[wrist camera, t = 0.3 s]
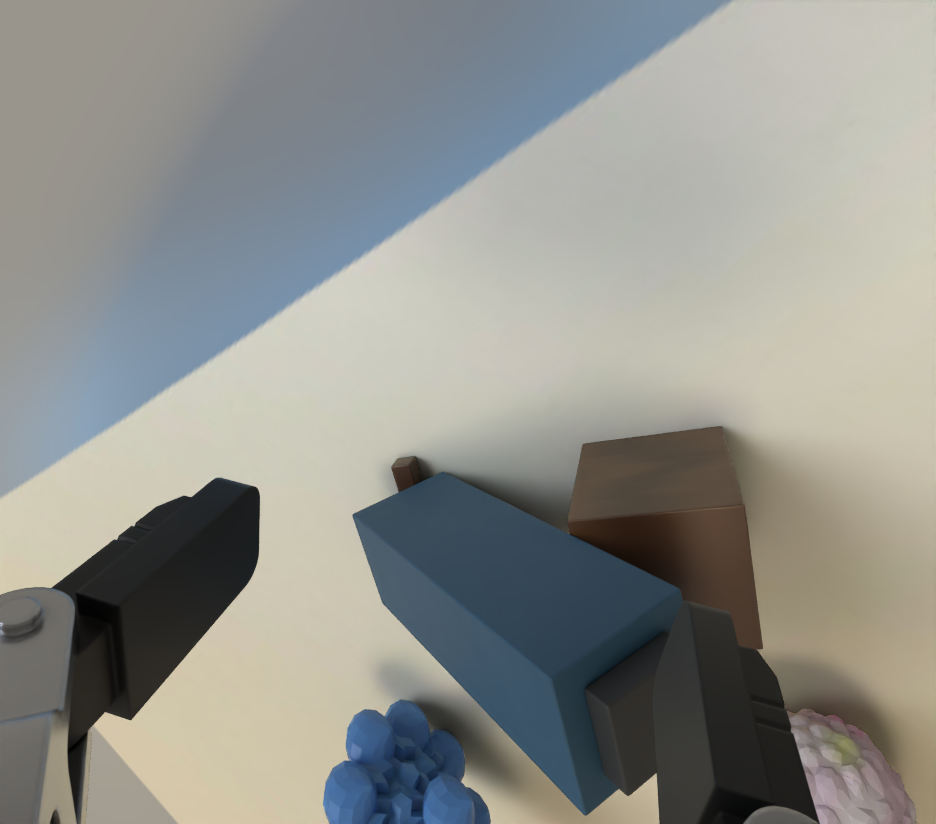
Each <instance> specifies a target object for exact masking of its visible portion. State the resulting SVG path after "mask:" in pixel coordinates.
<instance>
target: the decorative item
mask: <svg viewBox="0 0 936 824" xmlns="http://www.w3.org/2000/svg"><path fill="white" fill-rule="evenodd" d="M785 710H787V709H785ZM787 713H788V717H789V720H790V724H791V733H793V734H794V737H795V741H796V744H797V748H798V751H799V754H800V758H801V761H802V765H803V768H804V771H805V775H806V778H807V782H808V785H809V789H810V792H811V795H812V799H813V802H814V806H815V809H816V812H817V816H818V819H819V822H820V824H917V822H916V807H915V804H914V802H913V801H912V799H911V798H910V797H909V796H908V795H907V793H906V792H905V789H904V784H903V782H902V780H901V778H900V776H899V774H898V773H897V772H896V771H894V770H893V769H892V768H891V767H890V766H889V765H888V764H887V762H886V760H885V758H884V756H883V755H882V753H881V752H880V750H879V749H878V748H877V747H876V746H875V745H874V744H873V743H872V741H871V739H870V738H869V736H868V735H867V734H866V733H865V732H864V731H862V730H859V729H858V728H857V727H855V726H854V725H850V724H844V722H843V720H841V719H840V718H839V717H837V716H836V715H827V716H823V715H821V714H818V713H815V712H814V711H813V710H812V709H801V710H799V711H798V712H797V713H792V712H790V711H788V710H787Z"/></svg>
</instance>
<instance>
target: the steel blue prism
mask: <svg viewBox="0 0 936 824" xmlns="http://www.w3.org/2000/svg"><path fill="white" fill-rule="evenodd" d="M353 519H354V522H355V525H356V528H357V530H358V533H359V536H360V539H361V542H362V545H363V548H364V551H365V554H366V557H367V560H368V562H369V565H370V568H371V571H372V574H373V577H374V580H375V583H376V586H377V589H378V592H379V594H380V597H381V600H382V603H383V604H384V605H385V606H386V607H387V608H388V609H389V610H390V612H391V613H392V614H393V615H394V616H395V617H396V618H397V619H398V620H399V621H400V622H401V623H402V624H403V625H404V626H405V627H406V628H407V629H408V630H409V631H410V633H411V634H412V635H413V636H414V637H415V638H416V639H417V640H418V641H419V642H420V643H421V644H422V645H423V646H424V647H425V648H426V649H427V650H428V651H429V653H430V654H431V655H432V656H433V657H434V658H435V659H436V660H437V661H438V662H439V663H440V664H441V665H442V666H443V667H444V668H445V669H446V670H447V671H448V672H449V674H450V675H451V676H452V677H453V678H454V679H455V680H456V681H457V682H458V683H459V684H460V685H461V686H462V687H463V688H464V689H465V690H466V691H467V692H468V694H469V695H470V696H471V697H472V698H473V699H474V700H475V701H476V702H477V703H478V704H479V705H480V706H481V707H482V708H483V709H484V710H485V711H486V712H487V713H488V715H489V716H490V717H491V718H492V719H493V720H494V721H495V722H496V723H497V724H498V725H499V726H500V727H501V728H502V729H503V730H504V731H505V732H506V733H507V734H508V736H509V737H510V738H511V739H512V740H513V741H514V742H515V743H516V744H517V745H518V746H519V747H520V748H521V749H522V750H523V751H524V752H525V753H526V754H527V756H528V757H529V758H530V759H531V760H532V761H533V762H534V763H535V764H536V765H537V766H538V767H539V768H540V769H541V770H542V771H543V772H544V773H545V774H546V775H547V777H548V778H549V779H550V780H551V781H552V782H553V783H554V784H555V785H556V786H557V787H558V788H559V789H560V790H561V791H562V792H563V793H564V794H565V795H566V797H567V798H568V799H569V800H570V801H571V802H572V803H573V804H574V805H575V806H576V807H577V808H578V809H579V810H580V811H581V812H582V813H583V814H584V815H585V816H586V815H588V814H589V813H590V812H591V811H593V810H594V809H595V808H596V807H597V806H599V805H600V804H601V803H602V802H603V801H605V800H606V799H607V798H608V797H609V796H611V795H612V794H613V793H614V792H615V791H617V790H618V789H620V790H621V791H622V792H623V793H625V794H626V795H627V796H629V795H631V794H632V793H633V792H634V791H636V790H637V789H638V788H639V787H640V786H641V785H643V784H644V783H645V782H646V781H647V780H649V779H650V778H651V777H652V776H653V775H654V774H656V773H657V767H656V750H655V732H654V714H653V689H654V681H655V676H656V671H657V668H658V664H659V661H660V659H661V656H662V653H663V651H664V648H665V645H666V642H667V640H668V637H669V634H670V632H671V629H672V626H673V623H674V621H675V618H676V615H677V613H678V610H679V607H680V605H681V604H682V602H683V601H682V595H681V590H680V589H679V588H678V587H676V586H674V585H672V584H670V583H668V582H665V581H663V580H661V579H659V578H657V577H655V576H653V575H651V574H649V573H647V572H645V571H643V570H641V569H639V568H637V567H635V566H633V565H631V564H629V563H627V562H625V561H623V560H621V559H619V558H617V557H615V556H613V555H611V554H609V553H607V552H605V551H603V550H601V549H599V548H597V547H595V546H593V545H591V544H589V543H587V542H585V541H583V540H581V539H579V538H577V537H575V536H573V535H570V534H568V533H566V532H564V531H562V530H560V529H558V528H556V527H554V526H552V525H550V524H548V523H546V522H544V521H542V520H540V519H538V518H536V517H534V516H532V515H530V514H528V513H526V512H524V511H522V510H520V509H518V508H516V507H514V506H512V505H510V504H508V503H506V502H504V501H502V500H500V499H498V498H496V497H494V496H492V495H490V494H488V493H486V492H484V491H482V490H480V489H478V488H475V487H473V486H471V485H469V484H467V483H465V482H463V481H461V480H459V479H457V478H455V477H453V476H451V475H449V474H447V473H445V472H441V473H439V474H437V475H435V476H433V477H430V478H428V479H426V480H424V481H422V482H420V483H418V484H416V485H414V486H411V487H409V488H407V489H405V490H403V491H401V492H399V493H397V494H395V495H392V496H390V497H388V498H386V499H384V500H382V501H380V502H378V503H376V504H373V505H371V506H369V507H367V508H365V509H363V510H361V511H359V512H357V513H354V514H353Z"/></svg>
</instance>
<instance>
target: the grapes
mask: <svg viewBox="0 0 936 824" xmlns="http://www.w3.org/2000/svg"><path fill="white" fill-rule="evenodd" d="M346 750H347V755H348V758H349V760H350V761H343V762H342V763H340V764H339V765H337V766H335V767H334V768H333V769H332V771H331V773H330V775H329V777H328V779H327V781H326V785H325V793H324V801H323V805H324V809H325V814H326V816H327V819H328V821H329V824H490V823H491V820H490V814H489V810H488V807H487V805H486V804H485V802H484V801H483V799H482V798H481V796H480V795H479V794H478V793H476V792H475V791H474V790H472V789H471V788H468V787H465V786H464V784H463V783H461V781H462V779H463V776H464V772H465V756H464V751H463V748H462V746H461V745H460V743H459V742H458V740H457V739H456V738H455V737H454V736H453V735H451V734H450V733H449V732H447V731H446V730H437V729H435V730H434V731H432V732H431V733H430V731H429V725H428V720H427V717H426V716H425V714H424V713H423V711H422V710H421V708H420V707H419V706H417V705H416V704H414V703H413V702H412V701H407V700H399V701H397V702H395V703H394V704H392V705H391V706H390V707H389V709H388V711H387V713H386V715H385V717H384V716H383V715H382V714H380V713H379V712H378V711H376V710H367V709H364V710H363V711H361V712H359V713H358V714H356V715H354V717H353V719H352V721H351V723H350V725H349V727H348V730H347V739H346Z"/></svg>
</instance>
